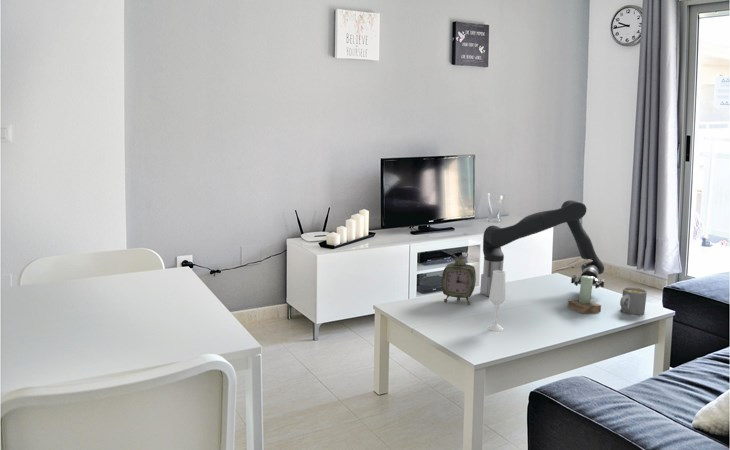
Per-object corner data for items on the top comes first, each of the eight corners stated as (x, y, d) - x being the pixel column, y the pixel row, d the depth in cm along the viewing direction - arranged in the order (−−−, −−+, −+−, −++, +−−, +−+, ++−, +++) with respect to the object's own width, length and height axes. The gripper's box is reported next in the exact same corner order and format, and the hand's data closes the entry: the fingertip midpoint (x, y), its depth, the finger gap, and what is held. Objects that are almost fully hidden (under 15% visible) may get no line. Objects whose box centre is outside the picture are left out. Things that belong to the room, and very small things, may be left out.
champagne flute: (507, 329, 273) (511, 272, 268) (495, 332, 269) (499, 274, 264) (495, 324, 278) (498, 268, 274) (483, 327, 274) (487, 271, 270)
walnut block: (582, 313, 295) (583, 307, 295) (567, 307, 304) (568, 300, 304) (600, 311, 299) (601, 305, 298) (585, 305, 308) (586, 298, 307)
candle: (583, 305, 298) (586, 277, 295) (576, 301, 302) (579, 274, 300) (592, 304, 300) (595, 276, 297) (585, 300, 304) (587, 273, 302)
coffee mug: (633, 307, 307) (635, 286, 305) (649, 313, 298) (651, 292, 296) (609, 309, 302) (612, 288, 301) (625, 316, 293) (627, 294, 291)
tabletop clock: (440, 303, 305) (443, 250, 300) (444, 297, 314) (446, 245, 309) (472, 306, 301) (475, 253, 296) (474, 301, 310) (478, 248, 305)
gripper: (574, 266, 316) (570, 274, 301) (606, 270, 310) (603, 279, 296) (573, 282, 317) (569, 290, 303) (604, 286, 312) (602, 295, 297)
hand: (586, 285), depth 299 cm, fingers open, 8 cm apart
